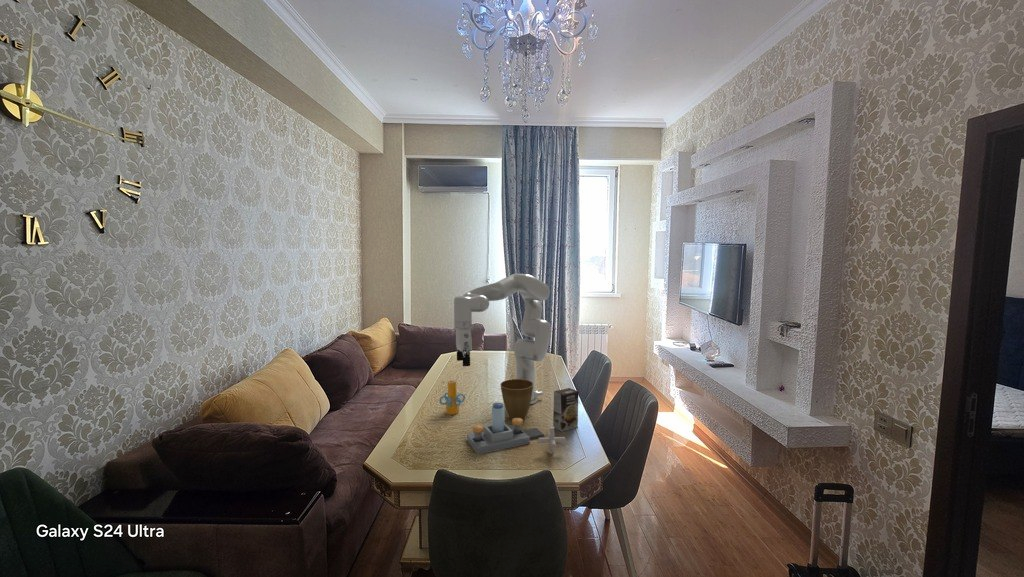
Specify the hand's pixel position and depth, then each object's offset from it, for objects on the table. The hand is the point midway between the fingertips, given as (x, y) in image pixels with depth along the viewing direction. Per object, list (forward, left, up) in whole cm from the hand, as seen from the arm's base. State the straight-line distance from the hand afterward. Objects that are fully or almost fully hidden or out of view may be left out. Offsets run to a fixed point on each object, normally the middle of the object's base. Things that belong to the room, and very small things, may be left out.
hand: (463, 363), depth 191 cm
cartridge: (-7, +24, -24) cm, 35 cm away
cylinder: (+1, -13, -27) cm, 30 cm away
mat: (-22, +24, -27) cm, 42 cm away
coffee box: (-39, +23, -27) cm, 52 cm away
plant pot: (-24, +5, -27) cm, 36 cm away
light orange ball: (-15, +24, -24) cm, 37 cm away
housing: (-7, +24, -27) cm, 36 cm away
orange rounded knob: (+2, +24, -24) cm, 34 cm away
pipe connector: (-22, +41, -27) cm, 53 cm away
